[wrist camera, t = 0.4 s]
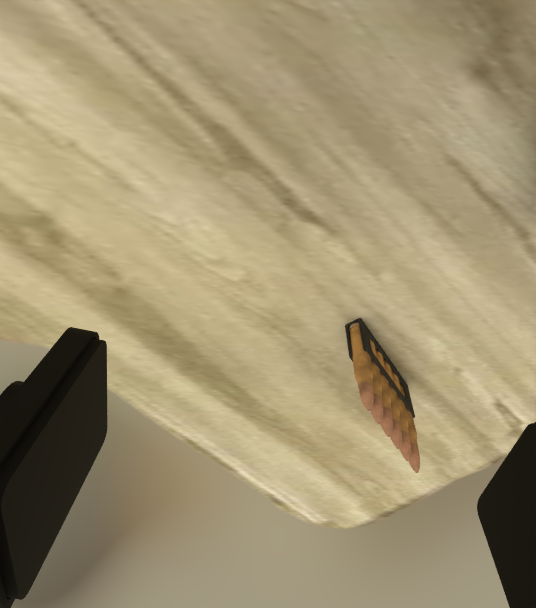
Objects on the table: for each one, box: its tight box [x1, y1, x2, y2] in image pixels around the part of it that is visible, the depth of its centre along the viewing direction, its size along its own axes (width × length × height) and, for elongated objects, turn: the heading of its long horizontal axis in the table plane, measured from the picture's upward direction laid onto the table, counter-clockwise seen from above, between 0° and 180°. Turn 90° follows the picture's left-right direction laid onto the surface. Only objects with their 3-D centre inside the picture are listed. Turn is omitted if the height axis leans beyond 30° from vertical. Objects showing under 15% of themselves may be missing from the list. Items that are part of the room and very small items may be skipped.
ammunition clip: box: [345, 319, 420, 473], centre depth 45 cm, size 11×2×12 cm, turn 35°
